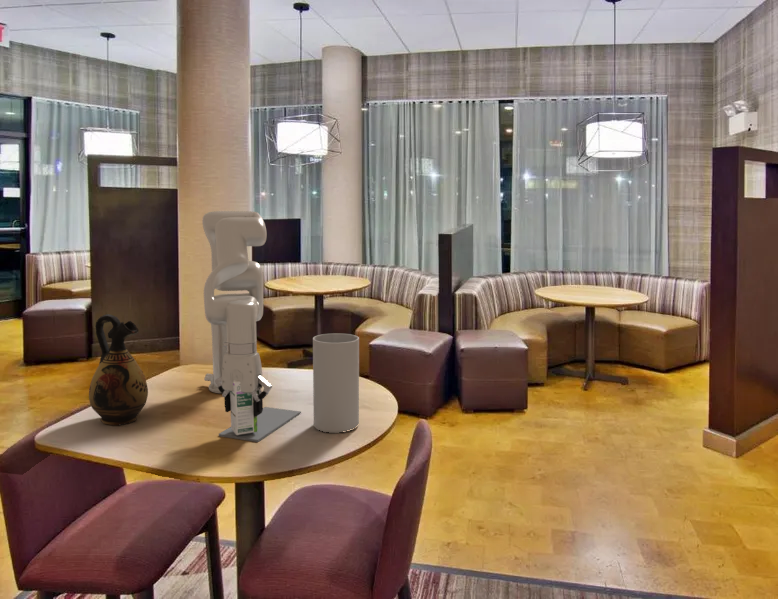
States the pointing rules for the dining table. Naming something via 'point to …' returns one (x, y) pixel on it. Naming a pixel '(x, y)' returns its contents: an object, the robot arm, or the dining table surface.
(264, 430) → the slate mat
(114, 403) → the ceramic jug
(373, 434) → the dining table surface
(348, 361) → the cylinder vase
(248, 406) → the syrup box
